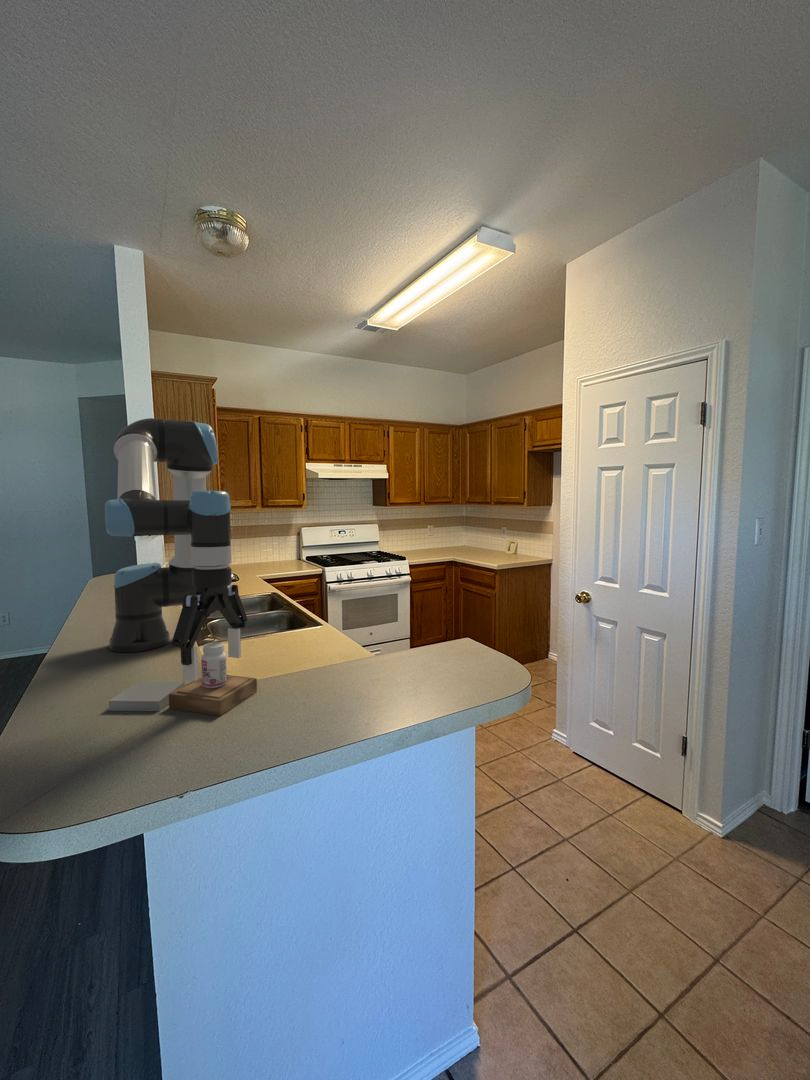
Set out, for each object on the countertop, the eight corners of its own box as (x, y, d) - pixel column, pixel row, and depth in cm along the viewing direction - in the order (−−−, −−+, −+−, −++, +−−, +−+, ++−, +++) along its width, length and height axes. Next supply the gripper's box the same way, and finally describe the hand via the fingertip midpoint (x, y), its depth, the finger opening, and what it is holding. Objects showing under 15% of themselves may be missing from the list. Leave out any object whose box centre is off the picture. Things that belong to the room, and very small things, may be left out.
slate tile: (139, 690, 99) (138, 681, 99) (184, 690, 99) (184, 681, 99) (109, 710, 89) (108, 700, 89) (159, 711, 89) (159, 701, 89)
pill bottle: (197, 688, 93) (195, 647, 92) (210, 679, 97) (209, 640, 97) (218, 689, 92) (217, 648, 91) (231, 680, 97) (230, 642, 96)
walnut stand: (210, 685, 102) (209, 671, 102) (256, 691, 99) (256, 677, 99) (169, 708, 91) (168, 692, 90) (220, 716, 87) (220, 699, 87)
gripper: (234, 558, 106) (236, 647, 107) (147, 574, 82) (151, 688, 84) (262, 560, 104) (263, 650, 105) (181, 576, 80) (185, 693, 82)
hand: (214, 667), depth 94 cm, fingers open, 13 cm apart
